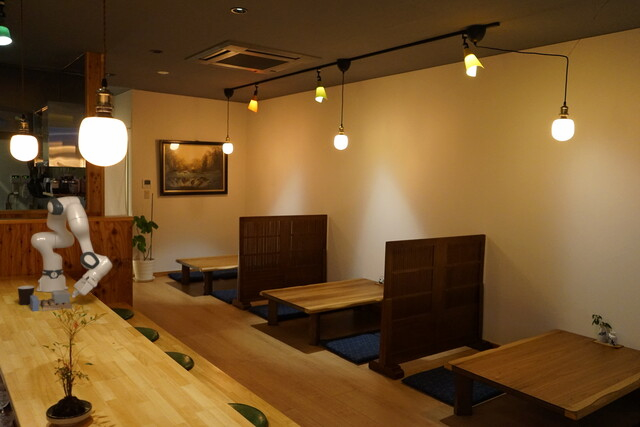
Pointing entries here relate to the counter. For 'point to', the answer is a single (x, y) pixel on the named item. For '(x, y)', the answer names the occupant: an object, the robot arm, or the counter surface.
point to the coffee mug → (25, 294)
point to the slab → (60, 296)
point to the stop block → (34, 303)
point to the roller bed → (53, 305)
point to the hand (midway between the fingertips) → (72, 296)
